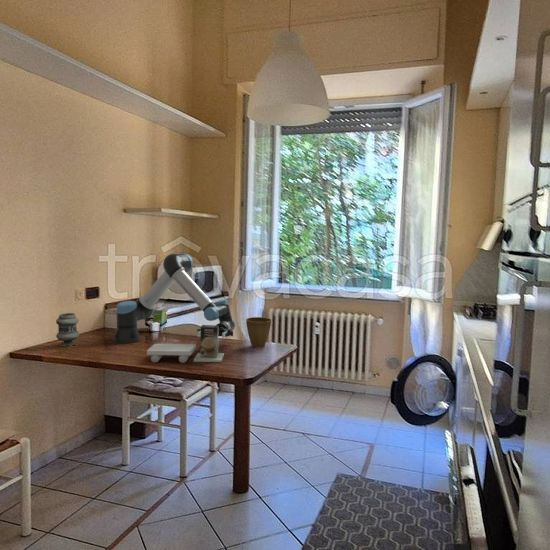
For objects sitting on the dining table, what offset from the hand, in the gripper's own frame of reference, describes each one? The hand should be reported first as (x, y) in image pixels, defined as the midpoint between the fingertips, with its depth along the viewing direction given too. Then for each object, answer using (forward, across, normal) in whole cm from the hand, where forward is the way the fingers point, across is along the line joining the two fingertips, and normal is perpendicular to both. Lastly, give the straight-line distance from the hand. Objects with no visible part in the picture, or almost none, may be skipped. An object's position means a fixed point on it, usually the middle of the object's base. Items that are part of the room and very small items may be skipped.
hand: (210, 335), depth 242 cm
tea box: (-63, +58, -10) cm, 86 cm away
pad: (+1, 0, -12) cm, 12 cm away
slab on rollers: (+6, +18, -12) cm, 23 cm away
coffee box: (+1, 0, -11) cm, 11 cm away
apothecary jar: (-8, +88, -12) cm, 90 cm away
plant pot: (-32, -19, -11) cm, 38 cm away
